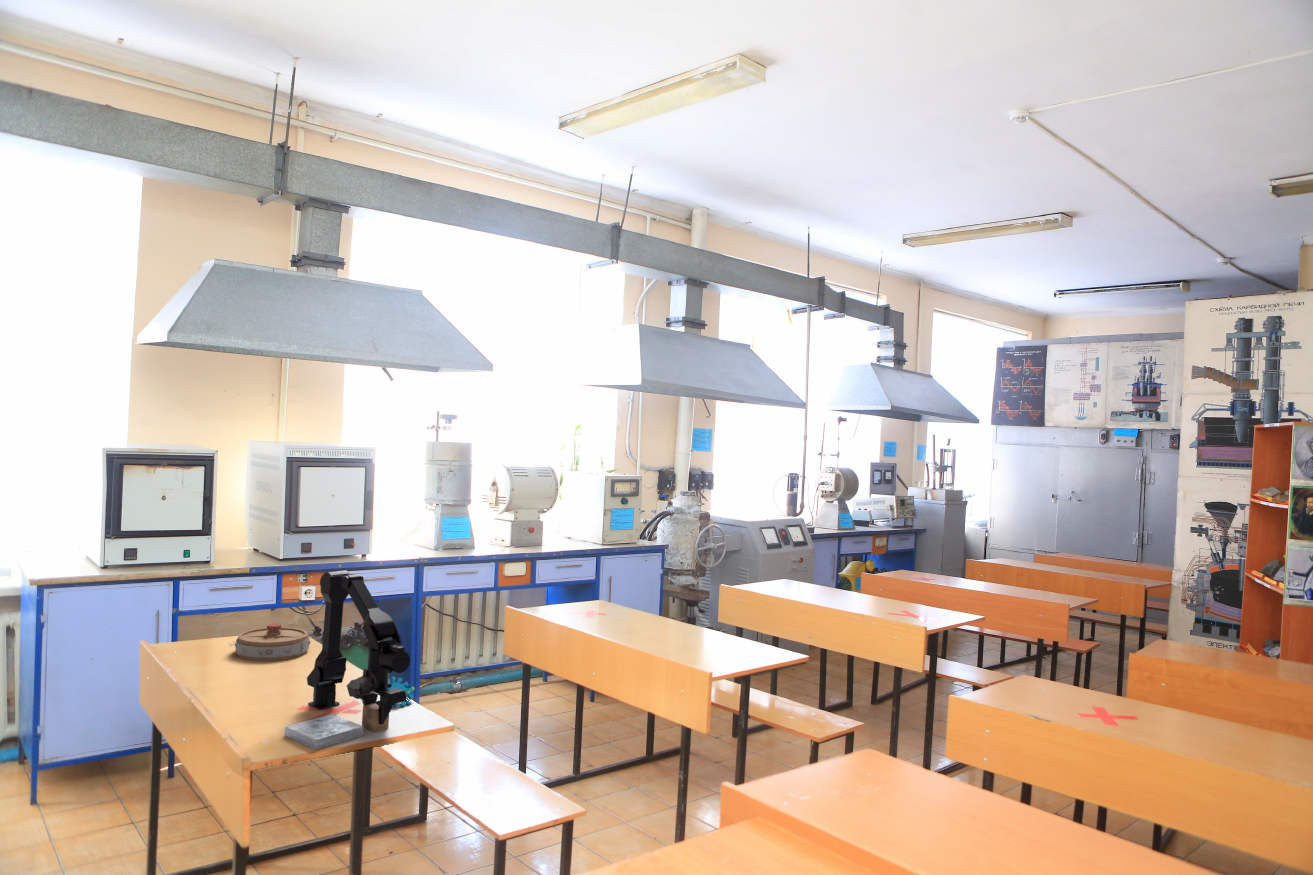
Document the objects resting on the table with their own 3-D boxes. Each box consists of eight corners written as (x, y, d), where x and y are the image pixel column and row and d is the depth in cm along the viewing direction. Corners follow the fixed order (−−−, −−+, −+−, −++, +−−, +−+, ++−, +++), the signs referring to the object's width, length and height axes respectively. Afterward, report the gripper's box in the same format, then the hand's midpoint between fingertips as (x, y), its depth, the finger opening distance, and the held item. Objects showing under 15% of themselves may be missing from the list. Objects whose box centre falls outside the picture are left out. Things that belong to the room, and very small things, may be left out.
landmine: (260, 665, 284) (262, 636, 284) (221, 652, 297) (222, 624, 297) (322, 652, 304) (324, 625, 304) (283, 641, 317) (284, 614, 317)
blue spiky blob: (390, 705, 245) (380, 675, 250) (379, 716, 247) (369, 687, 252) (421, 702, 254) (411, 674, 259) (410, 713, 256) (400, 684, 261)
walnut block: (361, 727, 231) (362, 705, 231) (377, 722, 235) (378, 701, 235) (372, 731, 228) (374, 709, 228) (388, 727, 232) (389, 705, 232)
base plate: (284, 735, 222) (285, 726, 222) (332, 722, 233) (332, 713, 233) (314, 749, 214) (315, 739, 214) (362, 735, 225) (363, 726, 225)
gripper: (332, 663, 231) (329, 720, 231) (374, 678, 220) (371, 737, 220) (367, 656, 240) (364, 711, 240) (409, 669, 229) (406, 727, 229)
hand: (375, 721), depth 232 cm, fingers closed on walnut block, 5 cm apart
